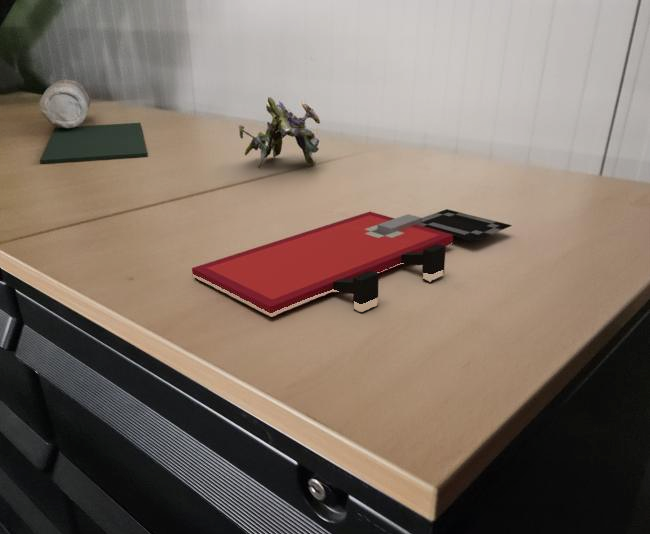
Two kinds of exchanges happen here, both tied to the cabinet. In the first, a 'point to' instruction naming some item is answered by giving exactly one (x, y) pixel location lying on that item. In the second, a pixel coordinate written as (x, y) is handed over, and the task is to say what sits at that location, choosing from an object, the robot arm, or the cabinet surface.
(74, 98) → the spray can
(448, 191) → the cabinet surface
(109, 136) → the mat
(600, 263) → the cabinet surface
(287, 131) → the toy creature figure
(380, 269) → the red board with handle
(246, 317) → the cabinet surface
